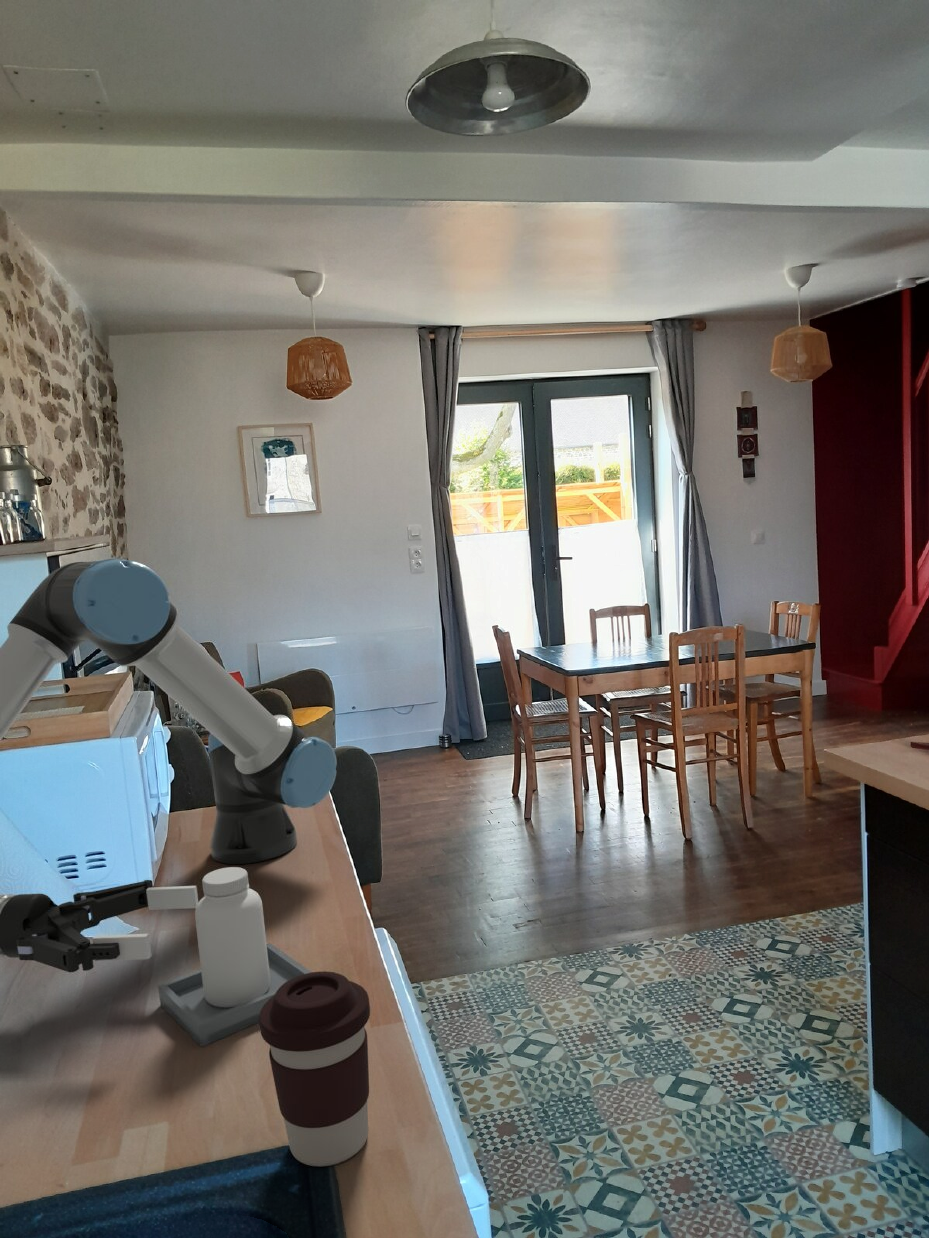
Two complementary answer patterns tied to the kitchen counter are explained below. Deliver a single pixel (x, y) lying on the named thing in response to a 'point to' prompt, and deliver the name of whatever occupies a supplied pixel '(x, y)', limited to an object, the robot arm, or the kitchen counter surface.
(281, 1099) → the coffee cup
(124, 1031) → the kitchen counter surface
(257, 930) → the pill bottle
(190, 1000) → the tray
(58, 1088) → the kitchen counter surface
